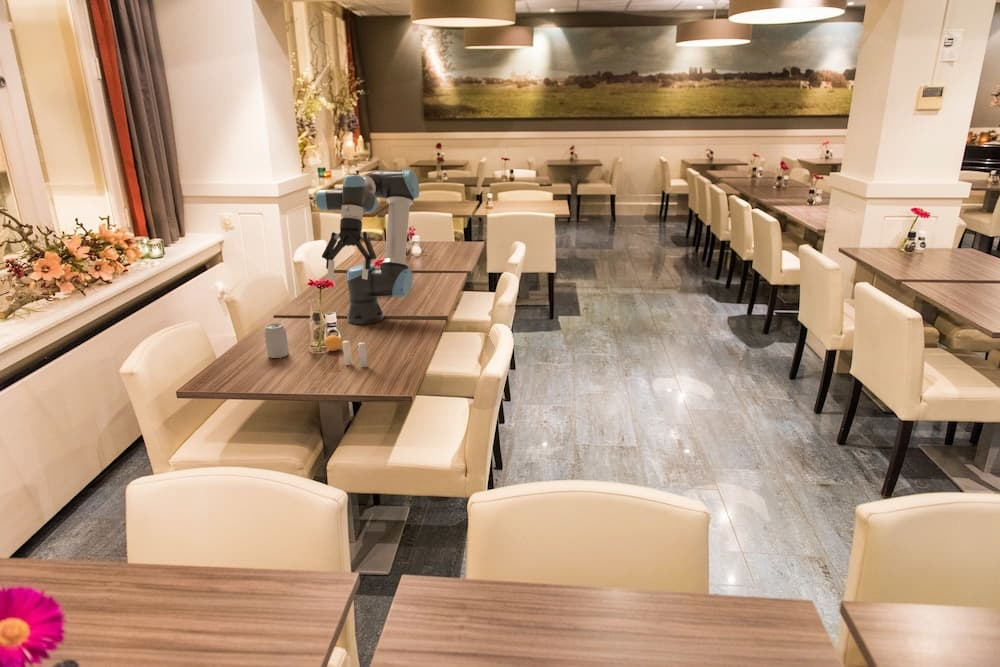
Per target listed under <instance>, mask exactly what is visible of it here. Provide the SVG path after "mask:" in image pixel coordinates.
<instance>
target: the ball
mask: <svg viewBox="0 0 1000 667" xmlns="http://www.w3.org/2000/svg"><path fill="white" fill-rule="evenodd" d="M324 346H325V348H326V349H327V350H329V351H332V352H335V351H338V350H339V349H340V348H341V346H342V339H341V338H340V337H339V335H336V334H330V335H328V336H326V338H325V340H324Z"/></svg>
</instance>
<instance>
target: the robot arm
mask: <svg viewBox="0 0 1000 667" xmlns="http://www.w3.org/2000/svg"><path fill="white" fill-rule="evenodd" d="M419 196H420V182H419V178H418V176H417V174H416V173H415V172H414V171H413V170H411V169H385V170H384V169H380V170H379V169H377V170H374V171H370V172H368V173H365V174H362V175H356V174H349V175H348V174H347V175H344V178H343V182H342V185H340V186H338V187H336V188H332V189H320V190H318V191H317V192H316V194H315V204H316V207H317V209H319V211H327V212H329V211H340V217H341V219H340V221H339V222H340V224H339V229H340V232H339V233H337V232H335V231H334V232H332V233H331V234H330V235H331V236H330V239H329V241H328V243H327V245H326V248H325V249H324V251H323V253H322V255H321V258H322V259H324V260H326V263H325V264H326V266H325V267H326V270H327V277H326V278H327V279H329V280H334V274H335V260H334V259H335V257H336V256H337V255H338V254H339V253H340V252H341V250H342V249H343V248H345V247H348V246H349V247H351V246H352V247H355V246H356V248H357V249H358V250H359V252H360V253H361V255H362V256H363V257H364V259H362V264H360V265H356V266H353V267H350V268H349V269H348V270H347V272H346V276H347V278H346V281H347V287H348V288H347V289H348V297H349V298H348V299H349V305H348V306H349V307H348V311H347V317H346V318H347V322H348V323H349V322H350V323H349V324H352V323H353V324H354V325H370V323H371V324H375V323H378V322H381V321H382V320H384V311H383V309H382V307H381V304H380V302H379V301H378V297H387V298H388V297H389V298H390V297H391V298H404V297H407V295H408V294H409V293H410V291H411V288H412V286H413V280H414V278H413V272H412V270H411V269H410V268H409V264H408V263H407V262H406V257H407V256H406V255H407V244H408V243H407V242H408V233H409V232H408V230H409V229H408V228H409V217H410V207H411V206H412V205H414V202H415V201H414V200H415V199H417V198H419ZM379 199H385V202H386V203H387V204H388V213H387V223H386V224H387V226H386V238H385V249H384V260H383V261H382V262H380V264H379V265H380V267H379V268H376V265H375V264H373V263H372V260H376V259H377V255H376V252H375V250H374V247H373V245H372V242H371V239H370V233H369V232H367V231H363V232H362V230H363V229H362V228H363V221H362V220H363V218H364V217H363V216H364V215H363V214H364V213H365V214H372V213H374V212H375V211H376V210H377V209H378V206H379ZM361 239H363V241H364V244H365V247H366V248H365V247H364V246H363V243H362V242H361ZM366 249H367V250H366ZM353 324H352V325H353Z"/></svg>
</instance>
